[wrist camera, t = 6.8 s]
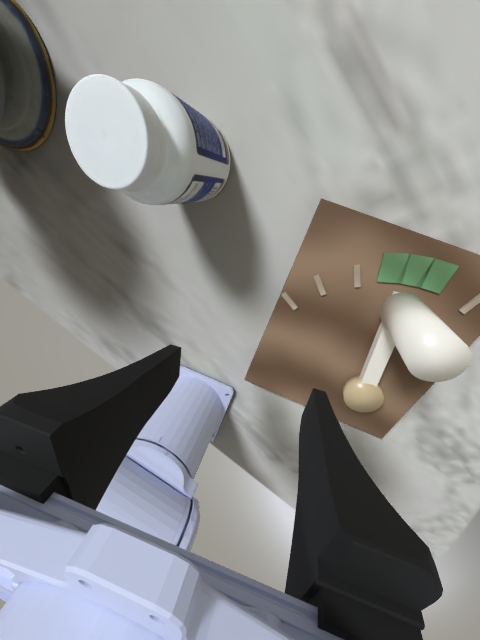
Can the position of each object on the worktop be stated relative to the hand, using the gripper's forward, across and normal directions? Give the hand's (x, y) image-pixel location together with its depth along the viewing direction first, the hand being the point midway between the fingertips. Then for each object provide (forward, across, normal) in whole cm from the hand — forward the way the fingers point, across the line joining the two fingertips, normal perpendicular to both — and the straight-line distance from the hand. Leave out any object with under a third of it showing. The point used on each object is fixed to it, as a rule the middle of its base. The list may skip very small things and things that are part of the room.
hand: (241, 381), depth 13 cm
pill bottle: (+11, +8, -10) cm, 16 cm away
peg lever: (+9, -9, +1) cm, 13 cm away
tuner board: (+10, -7, +1) cm, 13 cm away
